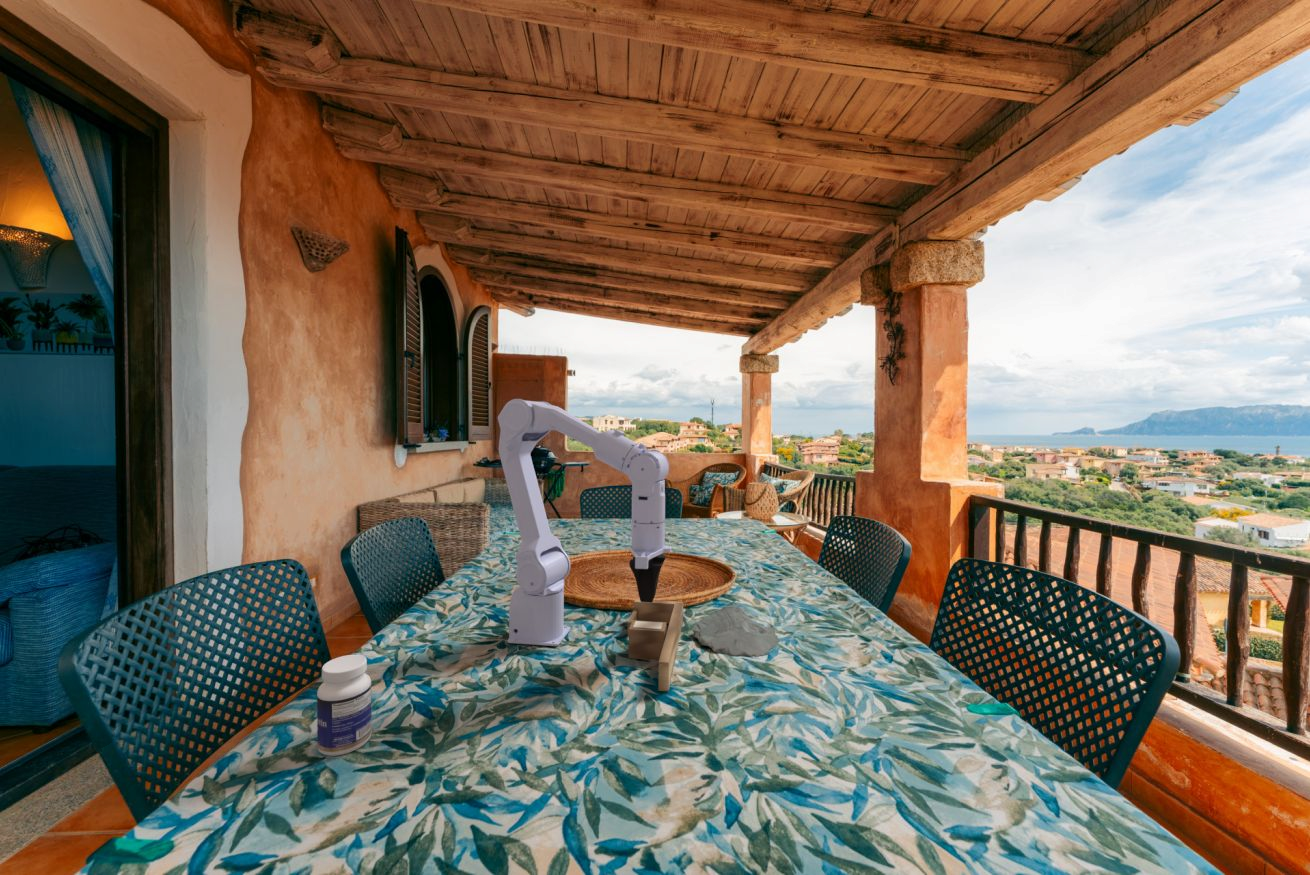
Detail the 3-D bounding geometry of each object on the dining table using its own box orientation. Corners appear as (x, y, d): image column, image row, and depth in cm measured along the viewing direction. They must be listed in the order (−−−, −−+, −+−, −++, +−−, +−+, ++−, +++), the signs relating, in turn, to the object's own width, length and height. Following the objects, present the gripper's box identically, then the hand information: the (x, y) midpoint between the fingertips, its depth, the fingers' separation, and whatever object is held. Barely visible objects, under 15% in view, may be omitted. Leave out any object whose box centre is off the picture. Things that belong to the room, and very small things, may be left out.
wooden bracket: (603, 686, 76) (604, 658, 76) (635, 618, 104) (635, 597, 104) (668, 691, 75) (668, 662, 75) (683, 621, 102) (683, 600, 102)
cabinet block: (628, 658, 86) (628, 628, 86) (632, 648, 90) (632, 619, 90) (663, 660, 85) (663, 630, 85) (666, 650, 89) (666, 621, 89)
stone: (693, 640, 87) (694, 597, 102) (690, 662, 88) (692, 616, 103) (785, 651, 86) (773, 605, 100) (782, 673, 87) (770, 625, 101)
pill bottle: (315, 739, 63) (315, 659, 63) (368, 724, 66) (368, 648, 66) (318, 764, 58) (318, 678, 58) (374, 746, 62) (374, 665, 61)
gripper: (666, 530, 79) (666, 616, 80) (675, 514, 94) (674, 587, 94) (622, 528, 80) (621, 613, 81) (637, 513, 95) (637, 585, 95)
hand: (647, 599), depth 87 cm, fingers closed
